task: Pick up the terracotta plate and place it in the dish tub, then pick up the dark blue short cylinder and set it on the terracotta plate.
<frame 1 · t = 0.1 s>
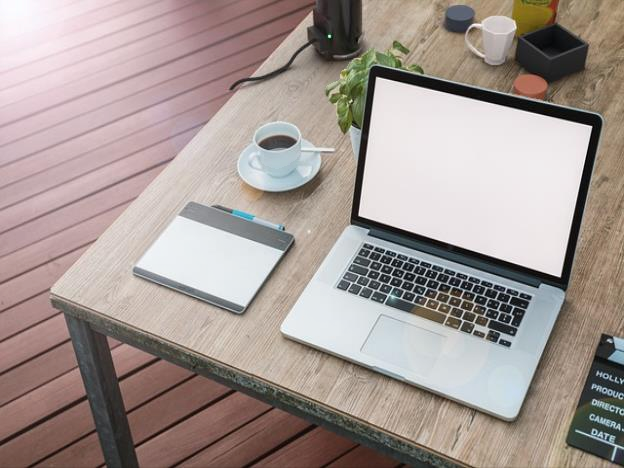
terracotta plate: (528, 95, 162), on the table
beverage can: (531, 31, 178), on the table
cup: (487, 58, 171), on the table
dish tub: (548, 64, 169), on the table
dark blue short cylinder: (459, 23, 180), on the table
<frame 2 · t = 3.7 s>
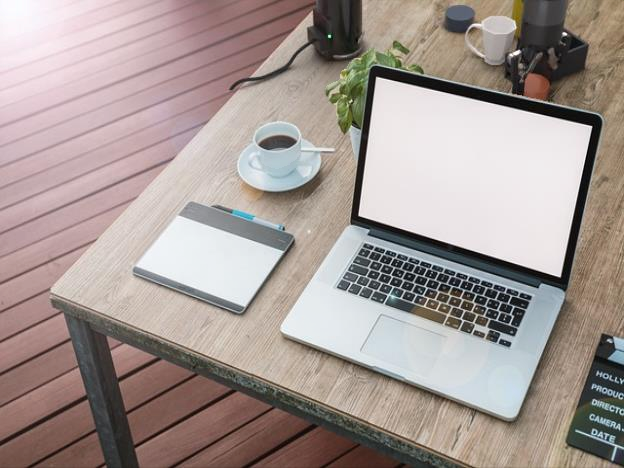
hand: (531, 90, 161), 1 cm above the table, tool pointing down, fingers closed on terracotta plate, 6 cm apart
terracotta plate: (530, 94, 162), on the table, touching gripper
everything else where it was.
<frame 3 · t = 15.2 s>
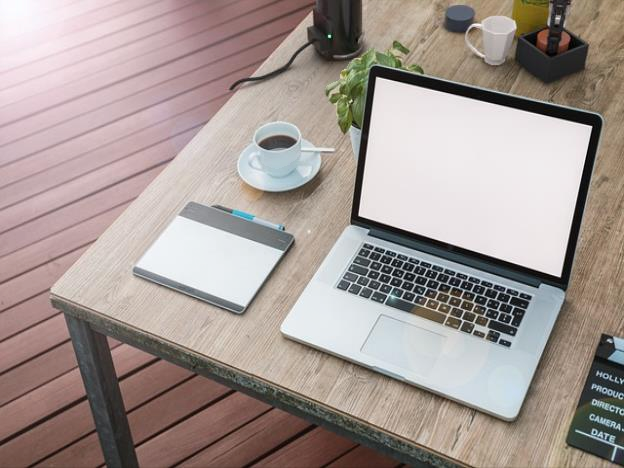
hand: (552, 44, 165), 5 cm above the table, tool pointing down, fingers closed on terracotta plate, 6 cm apart
terracotta plate: (551, 49, 166), point 4 cm above the table, touching gripper
everything else where it was.
when the fingers open (5 cm above the table, at t = 26.9 s): terracotta plate drops 3 cm, resting on dish tub.
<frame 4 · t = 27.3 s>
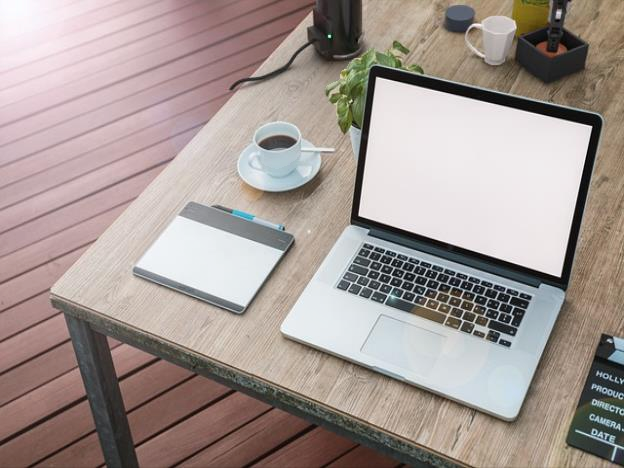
hand: (553, 39, 164), 6 cm above the table, tool pointing down, fingers open, 8 cm apart
terracotta plate: (549, 61, 168), point 1 cm above the table, touching dish tub
everything else where it was.
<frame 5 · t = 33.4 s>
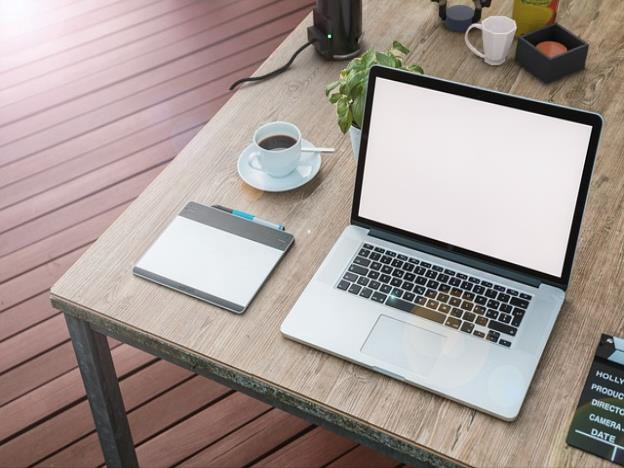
hand: (459, 20, 180), 1 cm above the table, tool pointing down, fingers closed on dark blue short cylinder, 6 cm apart
dark blue short cylinder: (459, 24, 180), on the table, touching gripper
everything else where it was.
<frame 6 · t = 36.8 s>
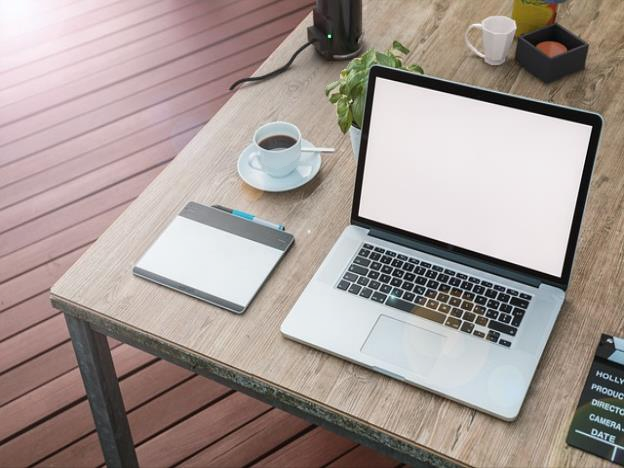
when the fingers open (4 cm above the table, at t = 40.1 s): dark blue short cylinder stays where it is, resting on terracotta plate.
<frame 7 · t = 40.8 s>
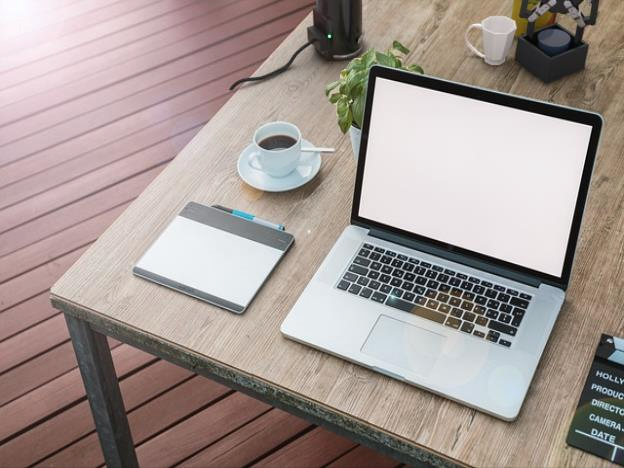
hand: (553, 38, 164), 6 cm above the table, tool pointing down, fingers open, 8 cm apart
terracotta plate: (549, 61, 168), point 1 cm above the table, touching dish tub, dark blue short cylinder
dark blue short cylinder: (551, 49, 166), point 3 cm above the table, touching terracotta plate
everything else where it was.
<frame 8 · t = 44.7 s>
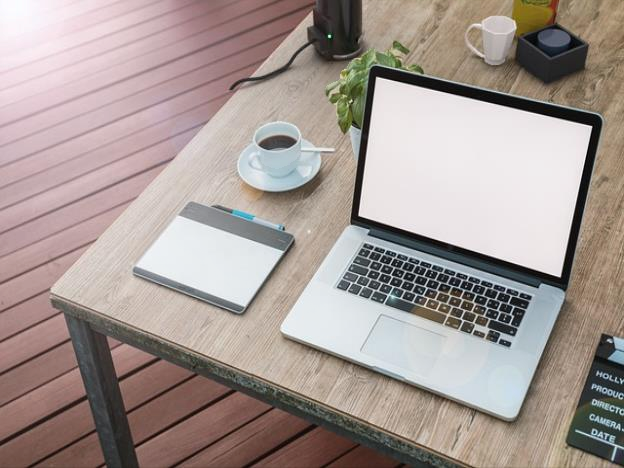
nothing on the table moved.
at the end: terracotta plate inside the target area in the dish tub (0.1 cm from its centre), point 0.6 cm above the dish tub's base; dark blue short cylinder inside the target area in the dish tub (0.1 cm from its centre), point 3.4 cm above the dish tub's base; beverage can moved 0.2 cm from its start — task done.
